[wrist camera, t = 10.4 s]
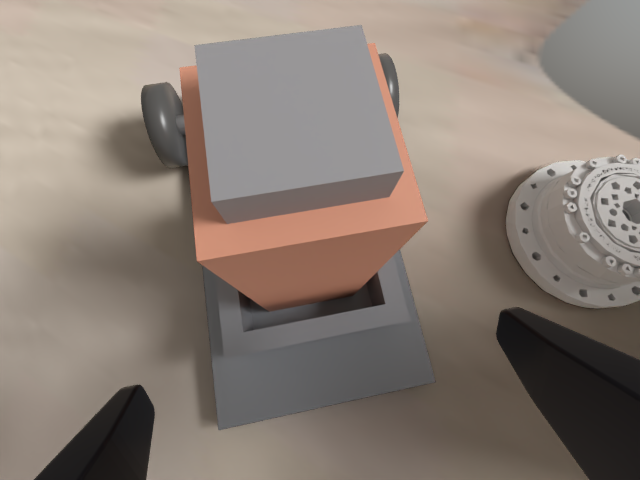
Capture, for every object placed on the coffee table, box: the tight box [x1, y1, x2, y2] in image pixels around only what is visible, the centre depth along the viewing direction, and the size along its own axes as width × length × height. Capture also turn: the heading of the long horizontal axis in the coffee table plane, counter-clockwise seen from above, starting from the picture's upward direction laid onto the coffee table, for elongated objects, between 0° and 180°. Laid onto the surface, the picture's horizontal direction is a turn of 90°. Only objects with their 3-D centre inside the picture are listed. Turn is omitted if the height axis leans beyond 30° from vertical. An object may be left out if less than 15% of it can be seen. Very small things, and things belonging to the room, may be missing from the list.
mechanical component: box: [506, 155, 640, 308], centre depth 21 cm, size 10×4×10 cm
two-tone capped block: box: [180, 25, 428, 312], centre depth 13 cm, size 5×5×14 cm
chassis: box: [141, 53, 436, 430], centre depth 20 cm, size 22×15×5 cm
